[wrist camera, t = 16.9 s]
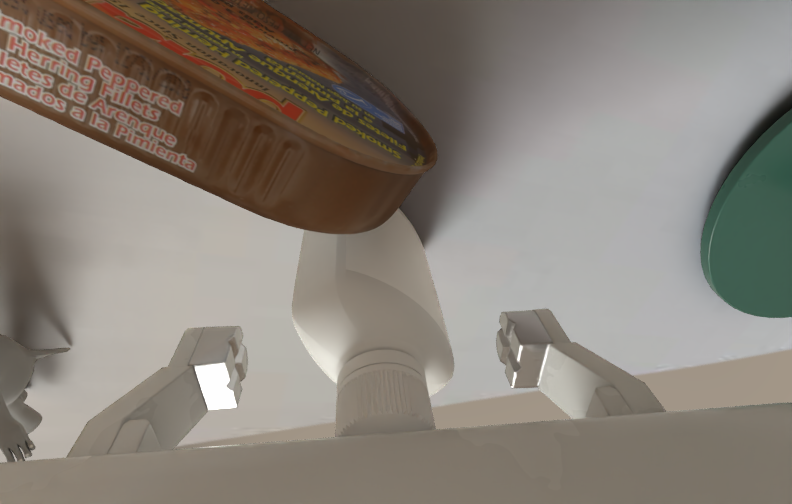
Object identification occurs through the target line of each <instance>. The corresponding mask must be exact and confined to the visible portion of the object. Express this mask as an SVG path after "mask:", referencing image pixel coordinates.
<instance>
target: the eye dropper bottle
mask: <svg viewBox="0 0 792 504" xmlns="http://www.w3.org/2000/svg"><path fill="white" fill-rule="evenodd" d="M292 318H293V323H294V326H295V328H296V331H297V333H298V335H299V337H300V339H301V341H302V342H303V344H304V346H305V347H306V349H307V351H308V352H309V354H310V355H311V356H312V358H313V359H314V360H315V362H316V363H317V364H318V366H319V367H320V368H321V369H322V370H323V371H324V372H325V373H326V375H327V376H328V377H329V378H330V379H331V380H333V381H334V382H335V383H336V384H337V397H336V430H335V431H336V432H335V437H344V436H357V435H370V434H383V433H396V432H408V431H421V430H435V429H436V428H435V423H434V419H433V413H432V408H431V403H430V398H429V397H430V396H432V395H433V394H435V393H436V392H438V391H439V390H441V389H442V388H443V387H444V386H445V385H446V384H447V383H448V382H449V380H450V379H451V378H452V376H453V371H454V358H453V353H452V349H451V345H450V341H449V337H448V334H447V330H446V326H445V322H444V319H443V315H442V311H441V308H440V304H439V301H438V297H437V293H436V290H435V286H434V283H433V279H432V276H431V272H430V269H429V265H428V262H427V258H426V255H425V251H424V248H423V245H422V243H421V240H420V238H419V236H418V234H417V232H416V231H415V229H414V227H413V226H412V224H411V223H410V221H409V220H408V218H407V217H406V216H405V215H404V214H403V212H402V211H401V210H400V209H399V208H398V209H397V211H396V212H395V213H394V214H393V215H392V216H391V217H390V218H389V219H388V220H387V221H386V222H385V223H383V224H382V225H381V226H379V227H377V228H375V229H373V230H370V231H367V232H363V233H357V234H326V233H320V232H313V231H308V230H304V234H303V240H302V245H301V251H300V257H299V263H298V268H297V274H296V280H295V286H294V294H293V301H292Z"/></svg>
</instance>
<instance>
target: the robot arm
mask: <svg viewBox="0 0 792 504" xmlns="http://www.w3.org/2000/svg"><path fill="white" fill-rule="evenodd" d="M499 323H500V325H501V327H502V328H501V329H500V330H499V331H498V332H497V338H496V347H497V353H498V356H499V359H500V361H501V362H502V363H503V364H505V365H506V369H505V374H506V376H507V378H508V381H509V383H510V386H511V388H533V387H538V389H539V390H540V391H541V392H543V393H544V394H545V395H546V396H547V397H548V398H549V399H551V400H552V401H553V402H554V403H555V404H556V405H558V406H559V407H560V408H561V409H562V410H563V411H564V412H565V413H567V414H568V415H569V416H570V417H571V418H572V419H567V420H566V419H565V420H553V421H541V422H528V423H515V424H502V425H491V426H490V425H489V426H477V427H462V428H449V429H435V430H421V431H408V432H396V433H383V434H370V435H357V436H344V437H331V438H318V439H305V440H292V441H279V442H267V443H253V444H240V445H227V446H214V447H201V448H189V449H175V450H173V449H174V448H175V447H176V446H177V444H178V443H179V442H180V441H181V440H182V439H183V438H184V437H185V436H186V435H187V434H188V433H189V431H190V430H191V429H192V428H193V427H194V426H195V425H196V424H197V423H198V422H199V421H200V420H201V418H202V417H203V416H204V415H205V414H206V413H207V410H215V409H226V408H236V407H237V406H238V403H239V399H240V395H241V392H242V387H241V383H240V382H241V381H242V380H243V379H244V378H245V377H246V372H247V365H248V356H247V350H246V347H245V346H244V345H243V344H242V343H241V342H242V339H243V333H242V329H241V327H239V326H223V327H206V328H205V327H200V328H188V329H187V330H186V331H185V332H184V334H183V336H182V338H181V341H180V343H179V345H178V347H177V349H176V351H175V353H174V355H173V357H172V359H171V361H170V363H169V365H168V367H163V368H161V369H160V370H158V371H157V372H156V373H154V374H153V375H152V376H150V377H149V378H147V379H146V380H145V381H143V382H142V383H141V384H139V385H138V386H136V387H135V388H134V389H132V390H131V391H129V392H128V393H127V394H125V395H124V396H123V397H121V398H120V399H118V400H117V401H116V402H114V403H113V404H112V405H110V406H109V407H107V408H106V409H105V410H103V411H102V412H100V413H99V414H98V415H96V416H95V417H94V418H92V419H91V420H89V421H88V422H87V424H86V426H85V427H84V429H83V431H82V432H81V434H80V436H79V437H78V439H77V440H76V442H75V444H74V445H73V447H72V449H71V450H70V452H69V454H68V455H67V457H66V458H56V459H43V460H30V461H17V462H4V463H0V504H792V403H773V404H762V405H748V406H735V407H723V408H709V409H696V410H683V411H670V412H666V410H665V409H664V408H663V406H662V405H661V404H660V403H659V401H658V400H657V398H656V397H655V396H654V395H653V393H652V392H651V390H650V389H649V388H648V386H647V385H646V384H645V383H644V382H642V381H641V380H639V379H637V378H635V377H634V376H632V375H630V374H629V373H627V372H625V371H624V370H622V369H620V368H618V367H617V366H615V365H613V364H612V363H610V362H608V361H606V360H605V359H603V358H601V357H600V356H598V355H596V354H595V353H593V352H591V351H589V350H588V349H586V348H584V347H583V346H581V345H579V344H577V343H576V342H573V343H571V342H570V340H569V338H568V337H567V335H566V334H565V332H564V331H563V329H562V328H561V326H560V324H559V323H558V321H557V320H556V318H555V317H554V315H553V314H552V312H551V311H550V310H549V309H536V310H526V311H509V312H502V313H501V315H500V320H499Z"/></svg>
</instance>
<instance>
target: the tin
mask: <svg viewBox="0 0 792 504" xmlns="http://www.w3.org/2000/svg"><path fill="white" fill-rule="evenodd" d="M0 96H1V97H3V98H5V99H7V100H10V101H12V102H14V103H16V104H18V105H21V106H23V107H25V108H27V109H29V110H32V111H33V112H35V113H37V114H39V115H41V116H44V117H46V118H49V119H51V120H53V121H55V122H57V123H59V124H61V125H63V126H65V127H67V128H70V129H72V130H74V131H76V132H78V133H81V134H83V135H85V136H87V137H89V138H91V139H94V140H96V141H98V142H100V143H102V144H104V145H107V146H109V147H111V148H113V149H116V150H118V151H120V152H122V153H124V154H126V155H129V156H131V157H133V158H135V159H137V160H139V161H142V162H144V163H146V164H148V165H150V166H153V167H155V168H157V169H159V170H161V171H164V172H166V173H168V174H170V175H173V176H175V177H177V178H179V179H181V180H183V181H185V182H187V183H189V184H191V185H194V186H196V187H199V188H201V189H203V190H205V191H207V192H209V193H212V194H214V195H216V196H219V197H221V198H222V199H224V200H226V201H229V202H231V203H233V204H235V205H237V206H240V207H242V208H244V209H246V210H249V211H251V212H253V213H255V214H258V215H260V216H262V217H265V218H268V219H271V220H274V221H277V222H280V223H283V224H285V225H288V226H292V227H296V228H300V229H304V230H308V231H313V232H320V233H326V234H357V233H363V232H367V231H370V230H373V229H375V228H377V227H379V226H381V225H382V224H383V223H385V222H386V221H387V220H388V219H389V218H390V217H391V216H392V215H393V214H394V213H395V212H396V211H397V209H398V208H399V207H400V205H401V204H402V202H403V201H404V200H405V198H406V197H407V196H408V194H409V193H410V191H411V190H412V189H413V187H414V186H415V185H416V183H417V182H418V180H419V179H420V178H421V176H422V175H423V174H424V172H426V171H428V170H429V169H431V168H432V167H433V166H434V165H435V163H436V161H437V157H438V154H437V149H436V145H435V143H434V142H433V140H432V138H431V136H430V135H429V133H428V132H427V130H426V129H425V128H424V127H423V125H422V124H421V123H420V122H419V120H418V119H417V118H416V117H415V116H414V115H413V114H412V113H411V112H410V111H409V109H408V108H407V107H406V106H405V105H404V104H403V103H402V102H401V101H400V100H399V99H398V98H397V97H396V96H395V95H394V94H393V93H392V92H391V91H390V90H388V89H387V88H386V87H385V86H384V85H383V84H382V83H380V82H379V81H378V80H377V79H375V78H374V77H373V76H372V75H370V74H369V73H368V72H367V71H365V70H364V69H363V68H361V67H360V66H359V65H357V64H356V63H355V62H353V61H352V60H350V59H349V58H347V57H345V56H344V55H343V54H342V53H340V52H339V51H337V50H336V49H335V48H333V47H332V46H330V45H329V44H327V43H326V42H324V41H323V40H321V39H320V38H318V37H317V36H315V35H314V34H312V33H311V32H309V31H308V30H306V29H304V28H303V27H301V26H300V25H298V24H297V23H295V22H294V21H292V20H291V19H289V18H288V17H286V16H284V15H283V14H281V13H280V12H278V11H277V10H275V9H274V8H272V7H271V6H269V5H268V4H266V3H265V2H263V1H262V0H0Z"/></svg>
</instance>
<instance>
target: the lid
mask: <svg viewBox="0 0 792 504" xmlns="http://www.w3.org/2000/svg"><path fill="white" fill-rule="evenodd" d="M700 254H701V265H702V269H703V272H704V275H705V278H706V280H707V282H708V284H709V285H710V287H711V288H712V290H713V291H714V292H715V293H716V294H717V295H718V296H719V297H720V298H721V299H723V300H724V301H725V302H726V303H728V304H729V305H730V306H732V307H733V308H735V309H737V310H739V311H742V312H744V313H747V314H751V315H755V316H760V317H768V318H786V317H792V109H791V110H789V111H788V112H787V113H786V114H784V115H783V116H782V117H781V118H779V119H778V120H777V121H776V122H775V123H774V124H773V125H772V126H771V127H770V128H769V129H768V130H767V131H765V132H764V133H763V134H762V135H761V136H760V137H759V139H758V140H757V141H756V142H755V143H754V144H753V145H752V146H751V147H750V148H749V150H748V151H747V152H746V153H745V154H744V155H743V157H742V158H741V159H740V161H739V162H738V163H737V164H736V166H735V167H734V168H733V170H732V171H731V172H730V174H729V176H728V177H727V179H726V180H725V182H724V183H723V185H722V187H721V188H720V190H719V192H718V194H717V196H716V198H715V200H714V202H713V204H712V206H711V208H710V211H709V214H708V216H707V219H706V222H705V225H704V230H703V234H702V238H701V251H700Z"/></svg>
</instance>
